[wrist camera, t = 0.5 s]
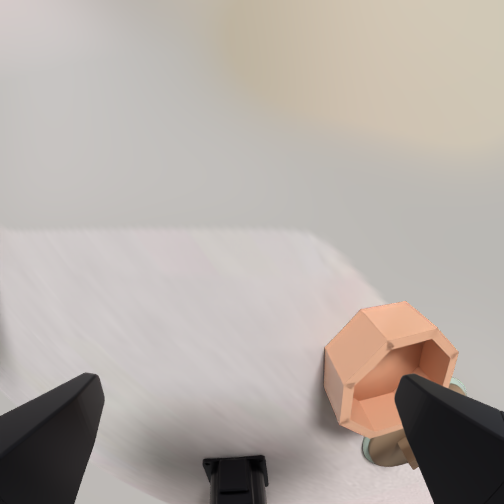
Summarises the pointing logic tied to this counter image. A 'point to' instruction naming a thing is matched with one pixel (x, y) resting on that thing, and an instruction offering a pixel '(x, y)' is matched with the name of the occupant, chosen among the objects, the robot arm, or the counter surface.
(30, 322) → the counter surface
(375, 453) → the walnut lid
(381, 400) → the terracotta bowl
